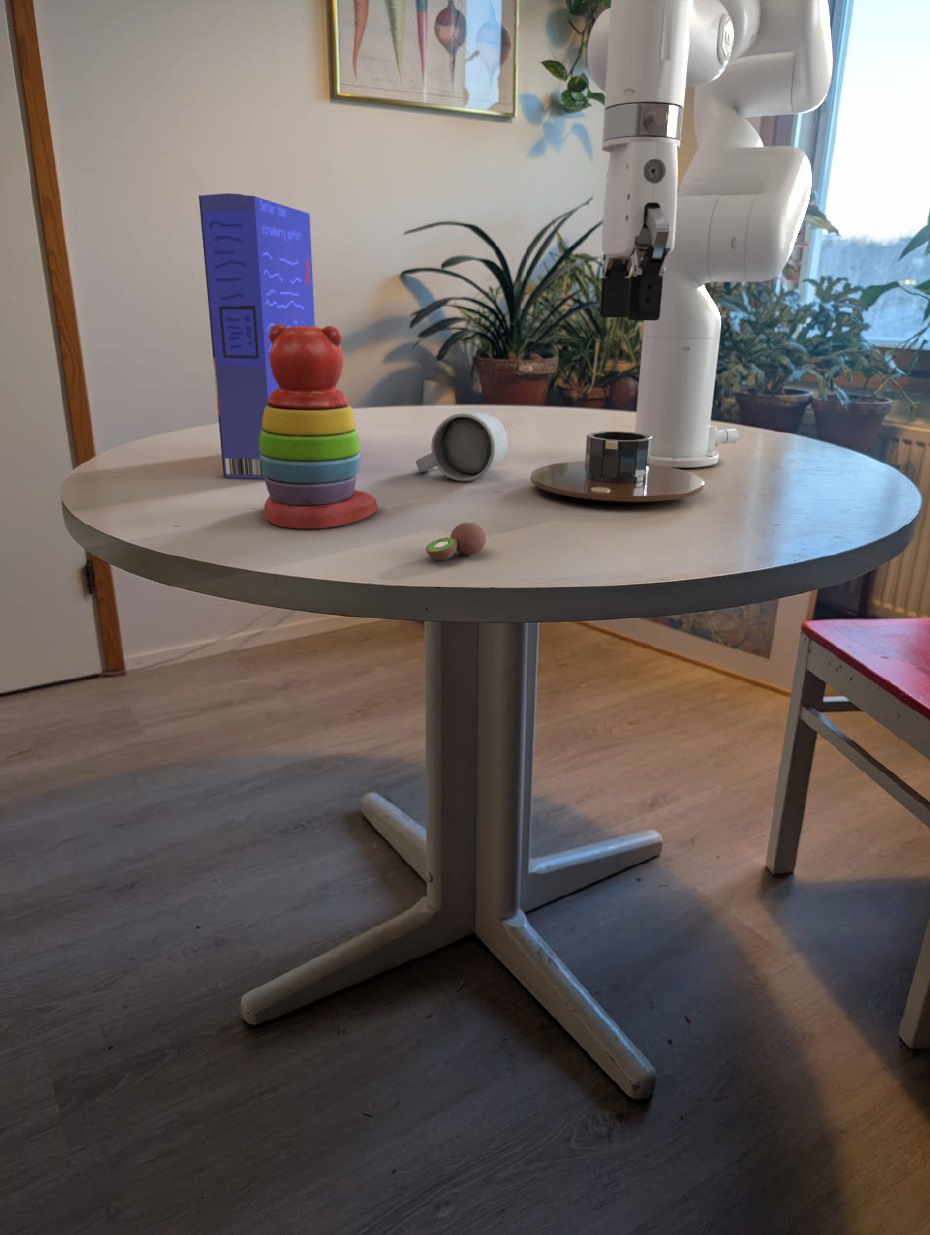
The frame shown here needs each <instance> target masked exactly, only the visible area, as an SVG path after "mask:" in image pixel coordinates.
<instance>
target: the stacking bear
mask: <svg viewBox="0 0 930 1235" xmlns="http://www.w3.org/2000/svg"><path fill="white" fill-rule="evenodd" d="M269 339H270V341H271V343H272V346H271V349H270V366H271V370H272V373H273V376H274V378H275V380H276V382H277V383H278V385H279V389H276V390H275V391H273V392H272V393H271V395H270V396H269V398H268V400H267V402H268V405H267V406H266V407H265V410H264V414H263V420H262V428H263V429H262V430H261V432H260V441H259V451H260V452H261V454H260V461H261V466H262V471H263V474H264V475H265V479H264V481H265V485H266V489H267V492H268V494H269V496H268V498H267V499H266V501H265V503H264V509H263V510H264V511H263V512H264V517H265V519H266V520H267V521H268V522H269V523H271V524H272V525H276V526H278V527H284V528H290V529H299V530H300V529H304V530H305V529H306V530H311V529H312V530H314V529H327V528H334V527H340V526H345V525H349V524H353V523H356V522H359V521H361V520H364V519H367V518H369V517H370V516H372V515H373V514H374V513H376V511H377V510H378V502H377V499H376V497H375V496H374V495H372V494H370V493H368V492H365V491H363V490H356V483H357V475H358V474H359V469H360V463H361V462H360V461H361V455H360V451H361V444H360V439H359V432H358V429H356V427H357V426H356V419H355V416H354V412H353V408H352V407H351V405H349V400H348V398H347V396H346V395H345V394H344V392H343V391H341V390H339V389H337V385H338V383H339V381H340V378H341V376H342V372H343V369H344V355H343V354H344V352H343V350H342V347H341V342H342V334H341V332H340V330H339V329H338V328H336V327H335V326H332V325H328V326H325V327H323V328H321V327H318V326H315V327H312V326H296V327H291V328H287V327H286V326H284V325H281V324H278V325H275V326H273V327H272V328H271V329H270V332H269Z"/></svg>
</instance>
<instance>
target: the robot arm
mask: <svg viewBox="0 0 930 1235" xmlns="http://www.w3.org/2000/svg"><path fill="white" fill-rule="evenodd" d="M586 51H587V53H586V57H587V58H586V59H587V66H588V67H587V68H588V71H589V73H590V77H591V78H592V81H593V83H594V84H595V85H596V87H597V88H598V89H599V90H600V91H602V92H604V106H603V107H604V109H603V110H604V111H603V125H602V142H601V146H602V147H601V150H602V151H603V152H606V153H609V160H608V167H607V173H606V184H605V191H604V192H605V194H604V201H603V202H604V204H603V214H602V215H603V216H602V228H601V229H602V230H601V231H602V232H601V251H602V253H603V255H602V256H603V257H602V261H603V265H602V269H601V276H602V277H601V288H600V302H599V316H600V317H602V318H627V320H629V321H643V329H642V342H641V352H640V353H641V354H640V367H639V379H638V390H637V402H636V414H635V427H634V432H635V433H641V434H645V435H648V436H650V437H651V449H650V460H649V464H653V465H660V466H666V467H671V468H676V469H691V468H694V469H695V468H703V467H710V466H714V465H716V464H717V463H718V462H719V457H720V454H719V452H718V451H716V450H715V448H716V447H717V446H719V444H722V445H729V444H736V443H737V442H738V441H739V437H740V435H739V431H738V430H737V429H736V428H727V429H725V428H724V429H721V430H720V429H718V428H717V425H712V424H711V420H712V410H713V402H714V393H715V392H714V391H715V383H716V374H717V366H718V357H719V348H720V340H721V330H722V322H721V321H722V320H721V315H720V312H719V309H718V307H717V306H716V304H715V302H714V301H713V299H712V298H711V295H710V294H709V292H708V291H707V289H706V287H705V284H707V283H708V284H709V283H717V282H718V283H758V282H761V283H762V282H766V281H767V282H768V281H770V280H773V279H775V278H776V277H777V276H779V275H780V274H781V273H782V272H783V270H784V268H785V267H786V265H787V263H788V260H789V258H790V256H791V253H792V251H793V248H794V244H795V242H796V239H797V236H798V235H799V234H798V233H799V231H800V229H801V226H802V223H803V220H804V217H805V214H806V211H807V208H808V204H809V201H810V195H811V187H812V167H811V163H810V161H809V157H808V156H807V154H806V153H805V152H804V151H803V149H801V148H799V147H796V146H792V145H770V146H769V145H767V146H764V143H763V141H762V139H761V136H760V135H759V133H758V131H757V130H756V129H755V128H754V127H753V125H752V124H751V123H750V121H748V120H747V119H749V118H758V117H772V116H786V115H787V116H788V115H798V114H805V113H808V112H811V111H814V110H815V109H817V108H818V107H820V105H821V104H822V103H823V102H824V100H825V99H826V97H827V95H828V93H829V90H830V87H831V83H832V75H833V47H832V33H831V20H830V8H829V2H828V0H611V1H610V7H609V8H607V9H604V10H603V11H602V12H601V13H600V14H599V15H598V17H597V18H596V20H595V21H594V23H593V25H592V27H591V30H590V33H589V37H588V41H587V50H586ZM691 87H692V88H693V87H694V95H693V122H694V123H693V124H694V132H695V138H696V143H697V150H696V152H695V154H694V156H693V158H692V159H691V162H690V163H689V166H688V168H687V170H686V171H685V174H684V176H683V178H682V179H681V182H680V186H679V189H678V184H679V183H678V182H679V180H678V177H679V174H678V172H679V166H678V165H679V164H678V151H679V150H680V149H681V141H682V140H681V139H682V128H683V118H684V108H685V97H686V96H685V95H686V88H691ZM746 118H747V119H746ZM631 270H632V271H633V276H630V274H631Z"/></svg>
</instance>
